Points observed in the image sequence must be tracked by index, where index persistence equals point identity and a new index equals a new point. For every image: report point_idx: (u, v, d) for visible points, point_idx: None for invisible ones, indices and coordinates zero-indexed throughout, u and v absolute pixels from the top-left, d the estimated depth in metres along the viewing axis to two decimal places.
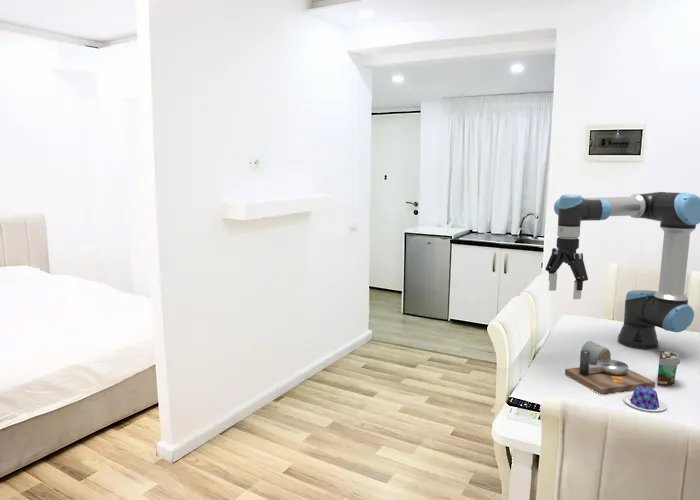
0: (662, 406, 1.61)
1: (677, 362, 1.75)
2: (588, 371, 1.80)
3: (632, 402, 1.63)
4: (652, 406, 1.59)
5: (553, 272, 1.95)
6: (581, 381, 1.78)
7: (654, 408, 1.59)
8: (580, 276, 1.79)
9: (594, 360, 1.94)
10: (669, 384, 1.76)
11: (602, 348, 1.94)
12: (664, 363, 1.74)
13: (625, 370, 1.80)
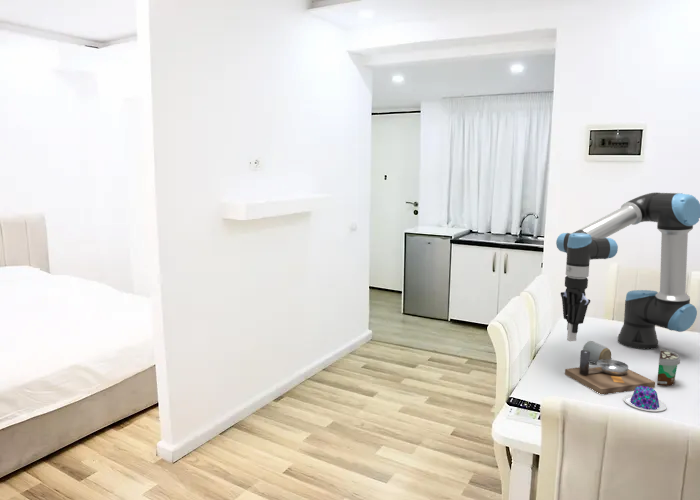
0: (662, 406, 1.61)
1: (677, 362, 1.75)
2: (588, 371, 1.80)
3: (632, 402, 1.63)
4: (652, 406, 1.59)
5: (572, 320, 1.86)
6: (581, 381, 1.78)
7: (654, 408, 1.59)
8: (577, 319, 1.81)
9: (595, 360, 1.94)
10: (669, 384, 1.76)
11: (603, 348, 1.94)
12: (664, 363, 1.74)
13: (625, 370, 1.80)
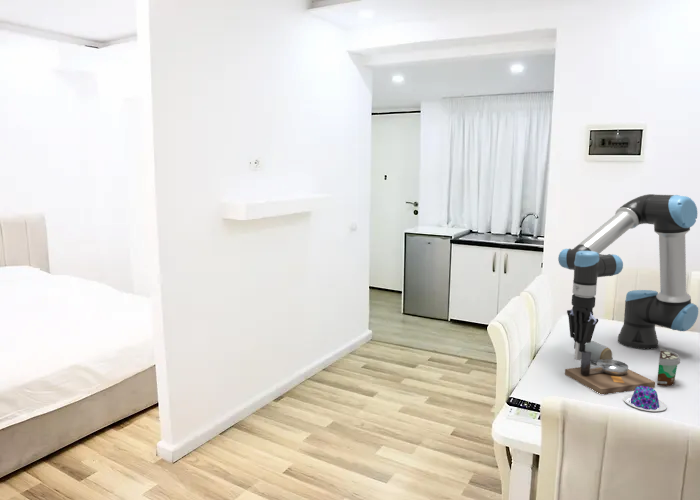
0: (662, 406, 1.61)
1: (677, 362, 1.75)
2: (589, 372, 1.80)
3: (632, 402, 1.63)
4: (652, 406, 1.59)
5: (579, 339, 1.83)
6: (581, 381, 1.78)
7: (654, 408, 1.59)
8: (584, 339, 1.78)
9: (596, 360, 1.95)
10: (669, 384, 1.76)
11: (604, 348, 1.94)
12: (664, 363, 1.74)
13: (625, 370, 1.80)
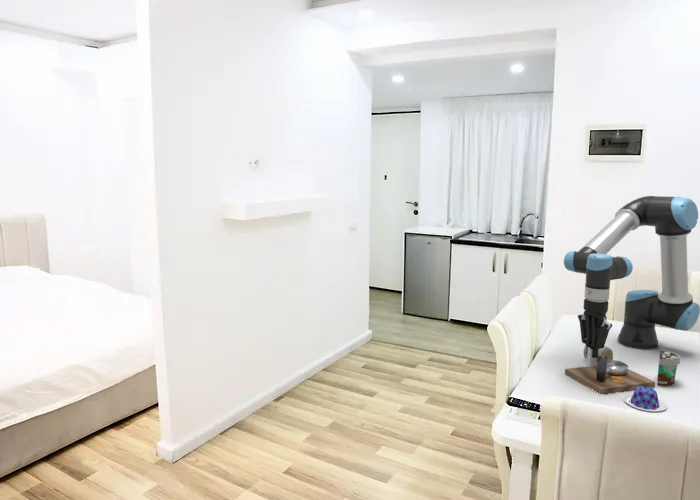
0: (662, 406, 1.61)
1: (677, 362, 1.75)
2: (605, 376, 1.75)
3: (632, 402, 1.63)
4: (651, 406, 1.59)
5: (591, 344, 1.77)
6: (581, 381, 1.78)
7: (653, 408, 1.59)
8: (598, 344, 1.73)
9: (596, 359, 1.95)
10: (669, 384, 1.76)
11: (604, 347, 1.94)
12: (664, 363, 1.74)
13: None
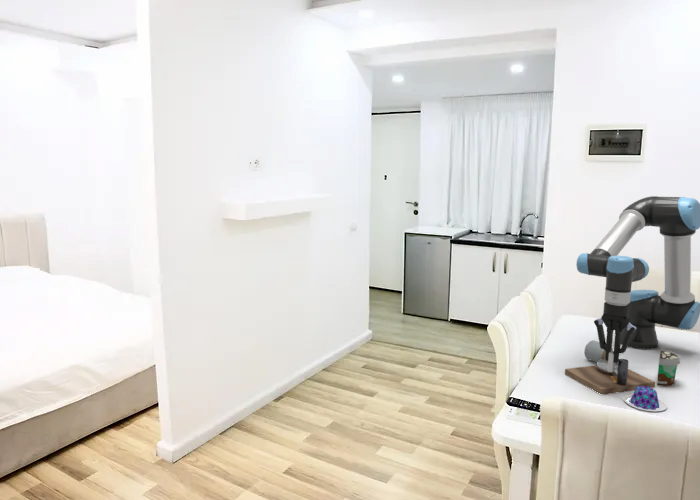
0: (662, 407, 1.61)
1: (677, 362, 1.75)
2: None
3: (631, 401, 1.64)
4: (651, 406, 1.59)
5: (610, 349, 1.73)
6: (581, 381, 1.78)
7: (653, 408, 1.59)
8: (622, 349, 1.69)
9: (597, 359, 1.95)
10: (669, 384, 1.76)
11: None
12: (664, 363, 1.74)
13: None
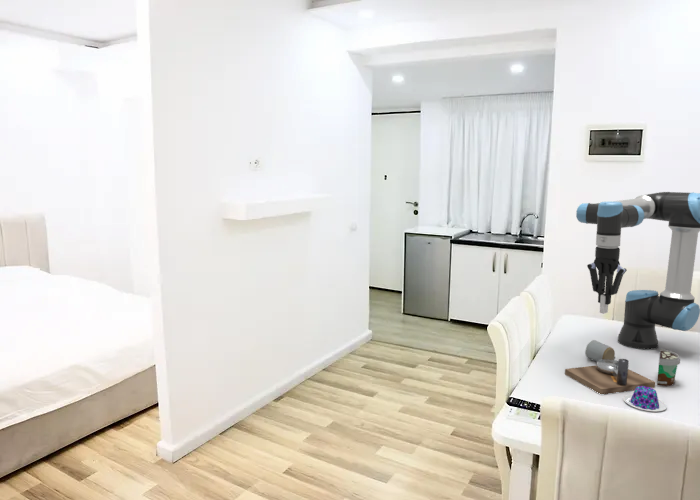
0: (662, 407, 1.60)
1: (677, 362, 1.75)
2: None
3: (631, 401, 1.64)
4: (650, 406, 1.59)
5: (603, 291, 1.80)
6: (581, 381, 1.78)
7: (652, 408, 1.59)
8: (613, 290, 1.76)
9: (598, 359, 1.95)
10: (669, 384, 1.76)
11: (606, 347, 1.95)
12: (664, 363, 1.74)
13: None
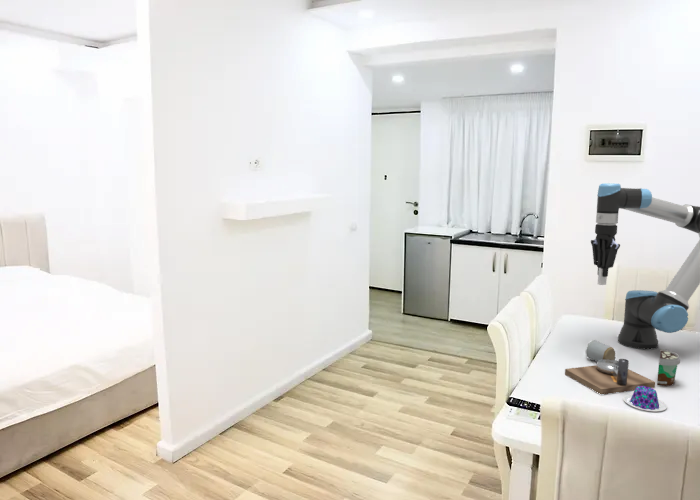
0: (662, 407, 1.60)
1: (677, 362, 1.75)
2: None
3: (631, 401, 1.64)
4: (649, 406, 1.59)
5: None
6: (581, 381, 1.78)
7: (651, 408, 1.59)
8: (607, 263, 1.95)
9: (599, 359, 1.95)
10: (669, 384, 1.76)
11: (607, 347, 1.95)
12: (664, 363, 1.74)
13: None
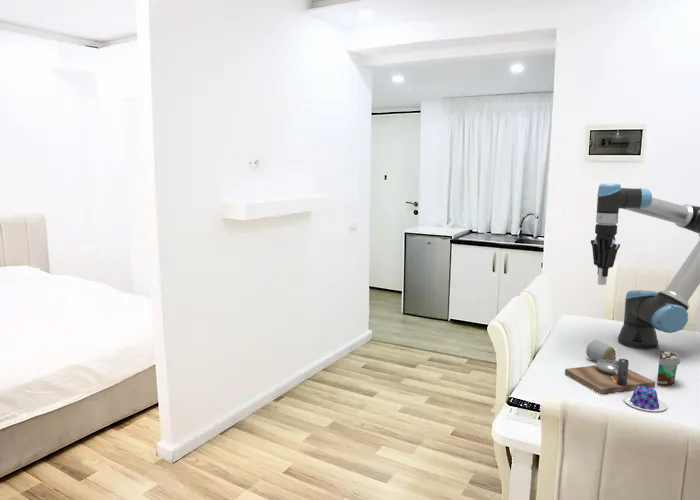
0: (662, 407, 1.60)
1: (677, 362, 1.75)
2: None
3: (631, 401, 1.64)
4: (649, 406, 1.59)
5: (602, 265, 1.99)
6: (581, 381, 1.78)
7: (651, 408, 1.59)
8: (607, 263, 1.95)
9: (599, 359, 1.95)
10: (669, 384, 1.76)
11: (607, 347, 1.95)
12: (664, 363, 1.74)
13: None
